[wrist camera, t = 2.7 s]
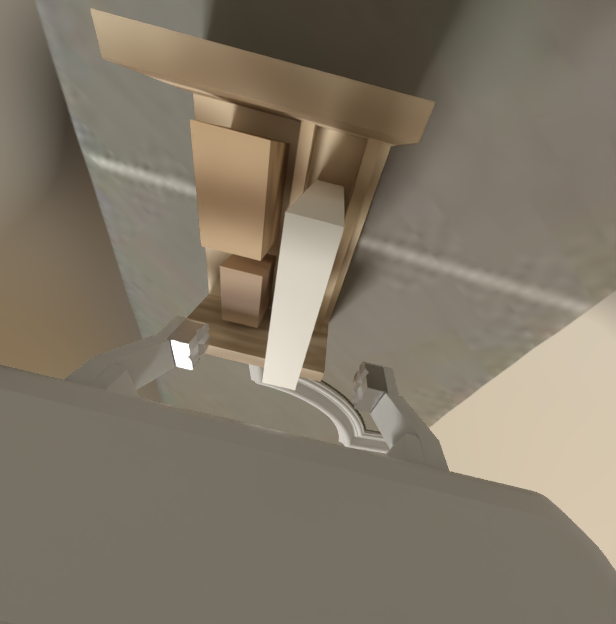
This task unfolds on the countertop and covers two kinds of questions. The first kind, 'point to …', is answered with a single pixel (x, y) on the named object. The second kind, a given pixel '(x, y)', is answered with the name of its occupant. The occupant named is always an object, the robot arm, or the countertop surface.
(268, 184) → the oak offcut
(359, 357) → the countertop surface
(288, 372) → the white square panel
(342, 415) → the molding
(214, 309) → the offcut rack
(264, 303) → the walnut offcut
